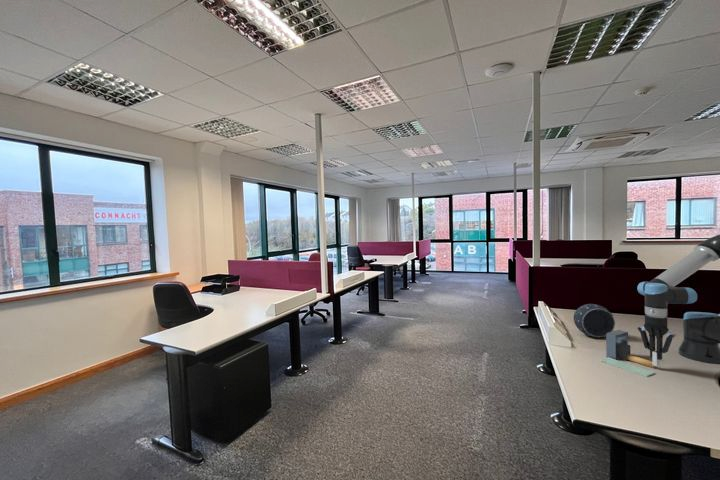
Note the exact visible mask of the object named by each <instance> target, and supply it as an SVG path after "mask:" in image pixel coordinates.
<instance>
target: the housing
mask: <svg viewBox="0 0 720 480" xmlns="http://www.w3.org/2000/svg"><path fill="white" fill-rule="evenodd" d="M605 337H606V338H605V339H606V341H605V346H606V349H605V351H606V352H605V353H606V355H605V356H606V357H605V358H608V357H609V358H612V359H615V360H616V359H617V360H618V358H617V342H620V343H624V344H627V345H629V332H628V331H625V330H622V329H617V330H613V331H612V332H608V333H606V336H605Z"/></svg>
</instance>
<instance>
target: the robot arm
mask: <svg viewBox="0 0 720 480" xmlns="http://www.w3.org/2000/svg"><path fill="white" fill-rule="evenodd" d="M717 260H720V234H716V235H714V236H712V237H709V238H707V239H705V240H704V241H702V242H699V244H697V245H695V246H694V248H693V251H691V252H690V253H689V254H687V255H686V256H684V257H683V258H682V259H680V260H678V261H677V262H676V263H674V264H673V265H672V266H670V267H669V268H667V269H666V270H665V271H663V272H661V273H660V274H659V275H657V276H656V277H654V278H653V279H651V280H650V281H642V282H639V283H638V285H637V287H636V288H637V292H638V294H640V295H641V296H644V314H645V315H644V324H643V326H638V327H637V331H639V333H640V336H641V339H642V340H641V341H642V343H643V346H644V348H645V349H647V350H648V351H649V357H650V358H652V359H651V361H652V365H654V366H655V367H658V366H660V361H661V360H662V359H663V354H665V353H668V352H669V349H670V348H671V345H672V341H673V339H674V338H675V337H676V336H677V335H676V334H675V333H672V332H671V331H670V329H669V328H668V318H667V317H668V304H675V305H676V304H678V305H680V304H681V305H688V304H694V303H695V302H697V301H698V293H697V292H696V291H695V290H694V289H693V288H691V287H684V286H683V287H682V286H681V287H678V286H677V285H679V284H681V282H684V280H686V279H687V278H689V277H690V276H691V275H693V274H695V273H696V272H697V271H699V270H700V269H702V268H703V267H704V266H705V265H707V264H709V263H710V262H716V261H717ZM682 320H683V322H682V323H683V339H682V342H681V343H680V345H679V347H678V354H679V355H680V356H683V357H685V358H688V359H690V360H694V361H699V362H703V363H709V364H720V346H719V345H720V313H714V312H713V313H712V312H704V311H703V312H701V311H686V312H685V313H684V314H683V318H682ZM647 333H648V334H647ZM665 335H666V338H665V341H664V343H663V340H664V339H663V338H664V336H665Z"/></svg>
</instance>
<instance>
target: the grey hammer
mask: <svg viewBox="0 0 720 480" xmlns="http://www.w3.org/2000/svg"><path fill="white" fill-rule="evenodd" d="M618 358H619V360H621V359H622V361H624V360H626V361H630V362H633V363H636V364H640V365H643V366H646V367H649V368H652V369H654V368H656V366H654V365H652V360H650V359H645V358H642V357H639V356H635V355H632V354H631V345H630V344H628V345H627V344H624V343H620V342H618V341H617V359H618Z"/></svg>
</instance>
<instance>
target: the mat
mask: <svg viewBox="0 0 720 480" xmlns="http://www.w3.org/2000/svg"><path fill="white" fill-rule="evenodd" d="M599 360H600V362H602V361H603V362H602V363H605V362H606V364H608V365H610V366H613V365H614V367H616V366H617V368H619V367H620V369H622V368H623V370H625V371H629V372H630V373H631V372H632V373H634V374H637V375H641V376H643V377H646V378H647V377H650V376H652V375H655V374H656V373H655V371H652V370H649V369H645V368H643V367H639V366H636V365H633V364H630V363H627V362H624V361H621V360H618V359H617V360H615V359H612V358H609V357H605V358H602V359H599Z"/></svg>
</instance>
